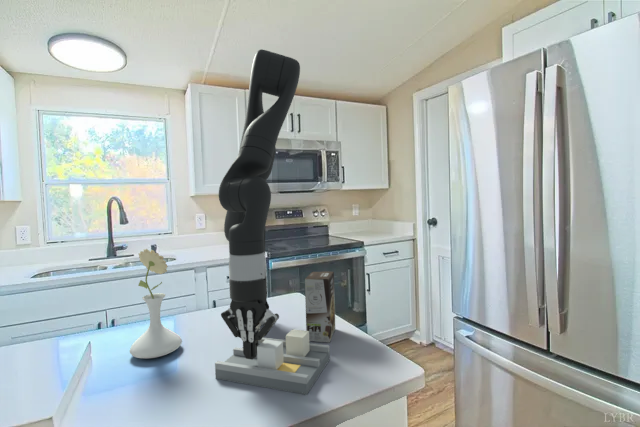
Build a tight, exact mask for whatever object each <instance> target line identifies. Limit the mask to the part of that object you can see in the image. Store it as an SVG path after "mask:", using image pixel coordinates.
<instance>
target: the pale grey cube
mask: <svg viewBox="0 0 640 427" xmlns="http://www.w3.org/2000/svg"><path fill="white" fill-rule="evenodd" d="M257 361H258V367H260V368H267V369H273V370H277V369H278V368H279V367H280V366H281V365H282V364H283V363H284V360H283V342H282V341H274V340H264V341H263V342H262V343H261V344H260V345H258V346H257Z"/></svg>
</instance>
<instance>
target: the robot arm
mask: <svg viewBox="0 0 640 427" xmlns="http://www.w3.org/2000/svg"><path fill="white" fill-rule="evenodd" d="M300 73H301V65H300V63H299V61H298V60H297V59H296V58H293V57H290V56H286V55H284V54H280V53H277V52H272V51H269V50H267V49H266V50H265V49H259V50H257V51H256V53H255V55H254V57H253V62H252V65H251V71H250V78H249V79H250V80H249V86H248V87H249V88H248V97H247V106H246V111H245V112H246V113H245V119H244V125H243V130H242V134H241V140H240V145H239V149H238V154H237V156H236V158H235V159H234V160H233V161H232V163H231V165H230V167H229V168H228V170H227V172H226V173H225V175H224V177H223V178H222V180H221V182H220V185H219V188H218V199H219V203H220V206H222V208H223V209H224V210H225V211H226V214H225V218H224V225H223V226H224V227H223V231H224V235H225V236H224V238H226V240H227V241H228V252H229V259H228V277H229V278H228V279H229V280H228V281H229V282H228V283H229V284H228V285H229V297H230V300H231V301H230V304H229V308H228V309H227V310H225V311H222V312H221V313H220V316H221V319H222V320H223V321H224V323H225V325H226V326H227V328H229V330H230V332H231V333H232V335H233V336H234V338H240V339H241V341H242V347H243V354H244V355H245V358H246V359H254V358H255V357H256V355H257V346H258V340H261V339H262V338H263V337H264V338H265V336H266V337H267V335H268V333H269V332H270V331H271V329H272V328H273V326H275V324H276V323H277V321H278V320H279V318H280V316H279V314H278V313H274V312H273V311H271V310H270V306H269V303H268V300H267V298H268V281H267V280H268V277H267V275H268V274H267V272H268V270H267V260H266V225H267V224H266V223H267V220H268V214H269V211H270V210H269V209H270V206H271V202H272V192H271V188H270V187H271V186H269V183H268V182H267V180H268V178H269V177H270V175H271V173H272V171H273V166H274V162H275V158H276V154H277V153H276V152H277V148H276V144H277V141H278V139H279V138H278V137H279V135H280V132H281V129H282V127H283V124H284V123H285V120H286V118H287V115H288V112H289V110H290V107H291V105H292V102H293V100H294V97H295V94H296V91H297V88H298V84H299V80H300ZM263 93H264V94H268V95H270V96H274V97H278V98H277V100H276V101H275V102H274V104H272V106H270V107H269V108H268V109H267V110H265V111H264V104H263ZM261 326H262V327H261Z"/></svg>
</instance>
